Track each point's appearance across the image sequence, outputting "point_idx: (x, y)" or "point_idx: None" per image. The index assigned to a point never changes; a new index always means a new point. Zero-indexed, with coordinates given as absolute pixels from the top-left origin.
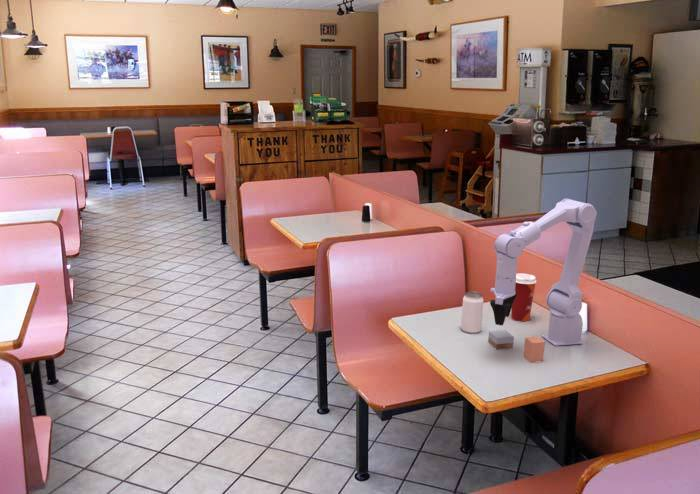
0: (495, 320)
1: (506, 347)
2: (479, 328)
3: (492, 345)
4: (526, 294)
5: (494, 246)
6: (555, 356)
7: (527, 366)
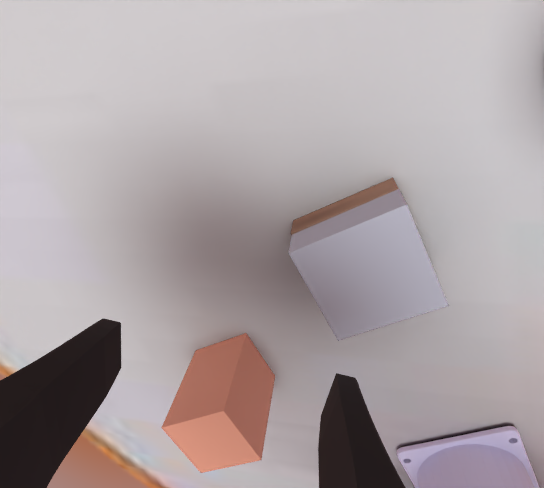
0: (72, 340)
1: None
2: None
3: (334, 204)
4: None
5: None
6: (289, 432)
7: (149, 337)
